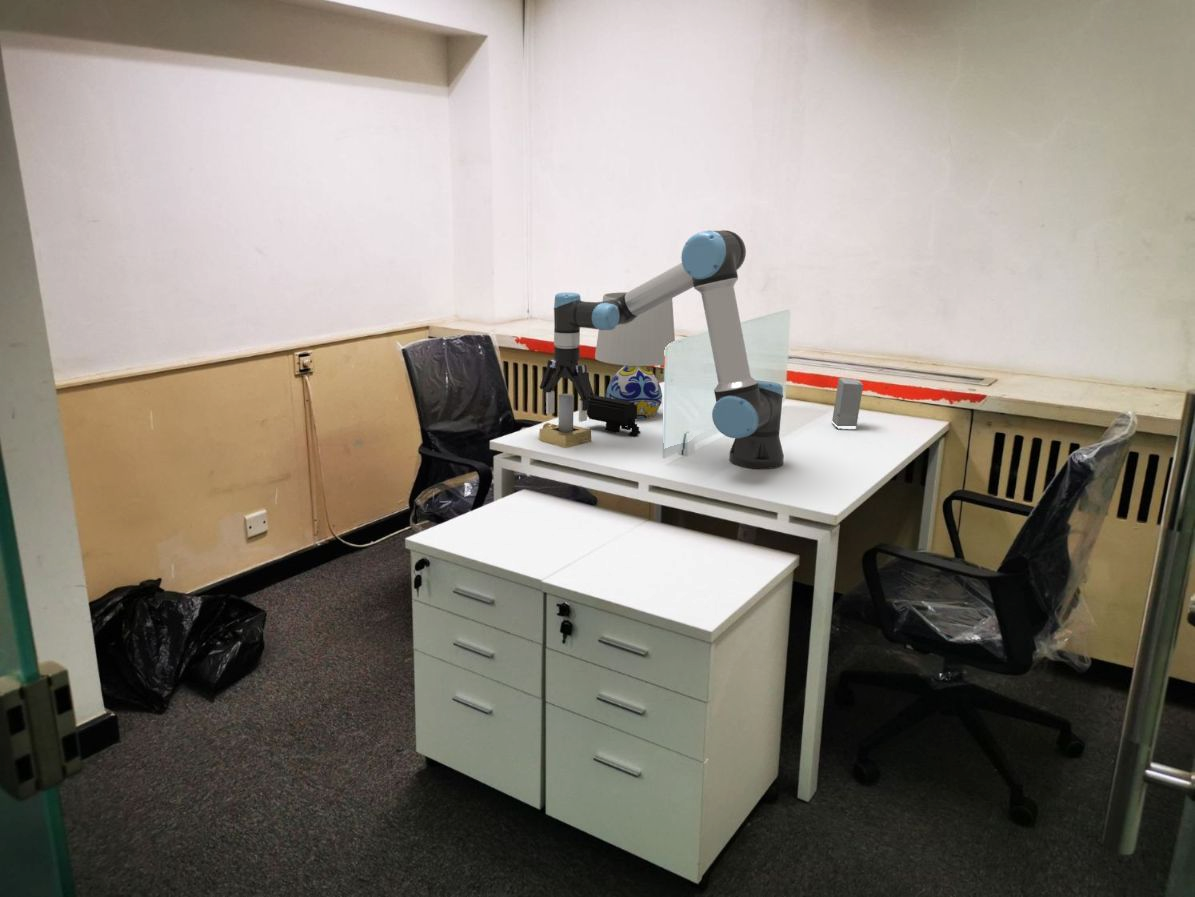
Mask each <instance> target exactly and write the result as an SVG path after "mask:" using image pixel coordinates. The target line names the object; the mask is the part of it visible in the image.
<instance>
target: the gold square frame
mask: <svg viewBox="0 0 1195 897" xmlns="http://www.w3.org/2000/svg"><path fill="white" fill-rule="evenodd" d="M558 429H559V424H553V423H550V422H546V423H544V424H543V425H542V428H539V438H538V439H539V441H540V442H544V443H548V444H551V445H554V446H559V447H561V448H565V449H567V448H570V447H573V446H577V445H581V444H586V443H589V442H592V429H590V428H586V427H581V426H578V425H575V424H573V431H572V432H568V433H564V432H560V431H558Z"/></svg>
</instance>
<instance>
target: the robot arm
mask: <svg viewBox="0 0 1195 897" xmlns="http://www.w3.org/2000/svg"><path fill="white" fill-rule="evenodd" d="M746 255H747V249H746V245H745V242H744V240H743V239H742V238H741V236H740V235H738V234H737V233H736V232H733V231H731V230H703V231H701V232H698V233H695V234H693V235H692V236H691V237H689V238H688V239H687V241H686V242H685V244H684V245H683V247H682V250H681V256H680V257H681V258H680V259H681V262H680V263H678V264H677V265H675V266H673V267H671V268H668V270H666V271H664V272H662V273H659V275H657V276H655V277H652V278H651V279H649V280H647V281H645V282H644V283H642V284H640V285H637V286H636V287H635V288H632V289H631V290H630V291H628V292H627V291H626V292H627V293H626V294H624V295H622V296H620V297H618V298H616V299H614V300H608V301H603V300H602V301H584V300H581V294H579V293H577V292H558V293H556V294H555V296H554V305H553V318H554V321H553V324H554V325H553V326H554V330H553V331H554V332H553V345H554V347H553V359H549V360H547V363H546V364H547V365H546V369H545V372H544V374H543V376H542V379H541V381H540V382H541V383H540V385H539V390H543V391H544V401H545V403H546V406H545V410H546V412H545V413H546V415H550V414H554V413H555V391H554V388H555V387H556V386H557V384H558V383H559V381H560V380H561V378H562V379H563V378H565V379H566V380H569V381H570V382H572V384H573V386H574V388H575V390H576V391H577V394H578V396H579V398H580V399H578V422H579V423H582V422H585V421H587V420H588V415H587V410H588V406H589V399H590V398H594V396H595V393H594V390H593V388H592V384H591V381H590V377H589V375H588V373H587V372H588V371H587V365H586V364H582V365H579V360H580V353H581V352H580V347H579V346H580V341H581V340H580V339H581V336H580V335H581V334H580V333H581V328H582V329H590V330H598V331H599V330H613V329H614V328H615V326H617V325H620V324H627V323H629V322H631V321H633V320H634V319H635V318H636V317H637V316H639V315H640V314H642V313H644V312H646V311H648V310H650V309H652V308H654V307H656V306H658V305H660V304H662V303H664V302H666V301H668V300H670V299H671V298H672V299H673V298H675V297H677V296H680V295H681V294H683V293H685V292H687V291H689V290H691V289H693V288H694V290H696V291H697V292H699V293H700V295H701V300H702V304H703V309H704V316H705V321H706V325H707V331H708V336H709V341H710V342H709V343H710V346H711V351H712V357H713V361H714V367H715V372H716V373H715V374H716V377H717V385H716V387H715V388H714V389H713V390H714V392H713V393H714V397H715V401H716V402H715V404H714V406H713V408H712V413H711V416H712V422H713V425H714V426H715V428H716V430H718V432H719V433H721V434H722V435H723V436H725V437H727V438H731V439H734V441H733V443H732V445H731V448H730V450H729V454H728V455H729V460H728V461H729V462H731V463H732V464H734V465H737V466H740V467H744V468H749V469H759V470H760V469H761V470H762V469H763V470H764V469H765V470H766V469H774V468H779V467H781V466H783V465H784V460H785V456H784V452H783V447H782V446H783V445H782V443H781V439H780V430H781V429H780V428H781V421H782V420H781V418H782V409H783V408H782V406H783V398H784V394H783V392H784V391H783V390H784V389H783V388H784V387H783V385H782V384H780V383H778V382H775V381H774V382H773V381H769V380H768V381H767V380H759V379H758V380H756V379H755V378H753V377H752V375H751V371H750V365H749V360H748V356H747V351H746V346H745V340H744V334H743V329H742V324H741V319H740V314H739V313H740V312H739V307H738V303H737V298H736V292H735V285H736V283H737V281H738V280H739V277H738V276H739V275H738V270H739V269H740V268H741V267H742V265H743V264H744V262H745V260H746Z"/></svg>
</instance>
